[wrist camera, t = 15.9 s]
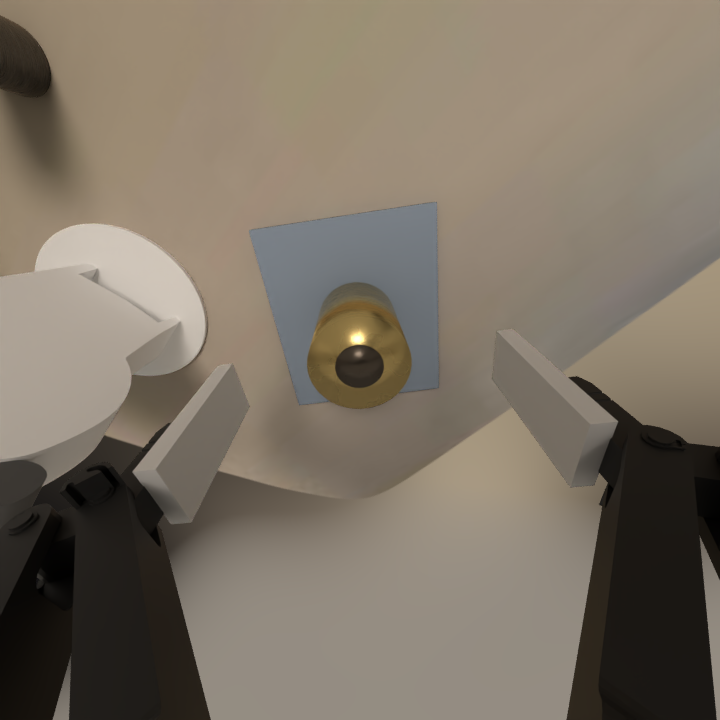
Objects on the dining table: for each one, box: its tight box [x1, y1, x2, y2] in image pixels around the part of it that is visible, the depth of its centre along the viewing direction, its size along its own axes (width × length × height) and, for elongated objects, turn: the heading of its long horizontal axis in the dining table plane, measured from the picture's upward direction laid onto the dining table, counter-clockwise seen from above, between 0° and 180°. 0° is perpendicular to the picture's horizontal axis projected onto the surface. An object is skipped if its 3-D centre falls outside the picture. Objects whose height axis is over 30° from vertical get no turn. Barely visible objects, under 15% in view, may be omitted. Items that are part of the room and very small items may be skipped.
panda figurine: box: [0, 223, 207, 529], centre depth 15 cm, size 12×11×15 cm
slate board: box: [249, 202, 439, 405], centre depth 22 cm, size 12×14×1 cm
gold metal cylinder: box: [307, 282, 412, 409], centre depth 19 cm, size 6×6×7 cm
